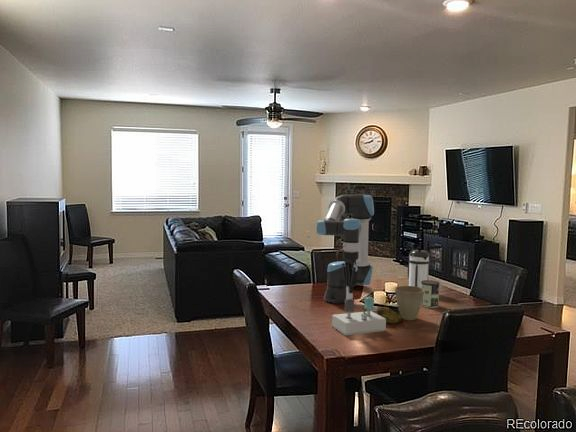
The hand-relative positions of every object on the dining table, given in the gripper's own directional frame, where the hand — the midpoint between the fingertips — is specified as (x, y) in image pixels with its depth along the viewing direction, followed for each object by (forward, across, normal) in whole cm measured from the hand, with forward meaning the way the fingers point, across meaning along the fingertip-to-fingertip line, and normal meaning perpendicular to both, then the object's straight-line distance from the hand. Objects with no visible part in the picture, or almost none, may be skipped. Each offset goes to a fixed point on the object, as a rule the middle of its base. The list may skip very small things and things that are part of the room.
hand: (349, 299), depth 233 cm
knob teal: (+10, 0, +11) cm, 15 cm away
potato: (+15, -4, +26) cm, 30 cm away
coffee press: (+15, -57, +81) cm, 100 cm away
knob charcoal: (+10, 0, 0) cm, 10 cm away
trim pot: (+9, +5, +6) cm, 12 cm away
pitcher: (+15, -87, +47) cm, 100 cm away
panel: (+15, 0, +6) cm, 16 cm away
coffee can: (+15, -25, +67) cm, 73 cm away
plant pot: (+15, -7, +40) cm, 43 cm away
